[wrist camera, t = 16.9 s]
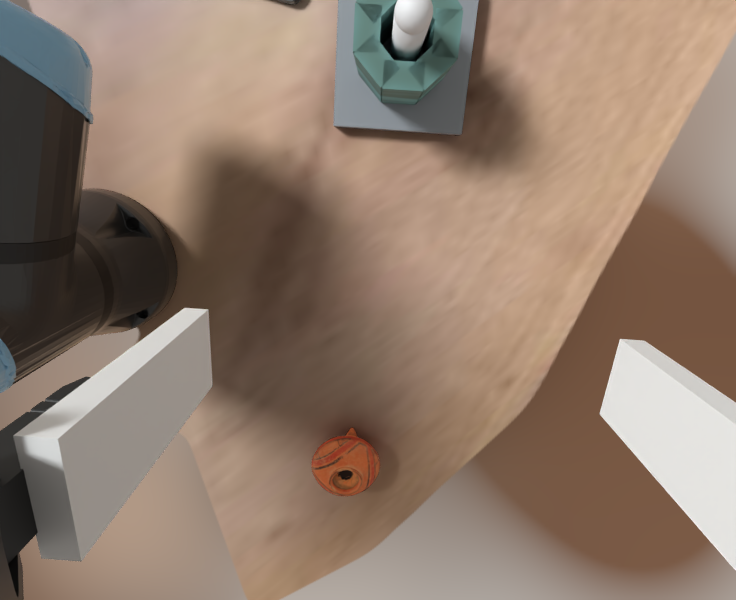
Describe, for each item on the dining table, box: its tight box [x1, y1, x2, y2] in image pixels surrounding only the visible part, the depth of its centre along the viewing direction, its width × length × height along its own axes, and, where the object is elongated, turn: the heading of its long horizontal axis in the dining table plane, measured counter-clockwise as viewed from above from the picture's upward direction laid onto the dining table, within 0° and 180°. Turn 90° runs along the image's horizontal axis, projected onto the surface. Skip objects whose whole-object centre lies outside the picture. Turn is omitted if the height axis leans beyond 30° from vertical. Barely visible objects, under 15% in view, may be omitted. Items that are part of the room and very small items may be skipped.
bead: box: [353, 0, 463, 105], centre depth 34 cm, size 8×8×8 cm
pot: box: [312, 428, 380, 496], centre depth 50 cm, size 8×8×7 cm
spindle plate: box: [334, 0, 479, 135], centre depth 32 cm, size 12×12×15 cm
